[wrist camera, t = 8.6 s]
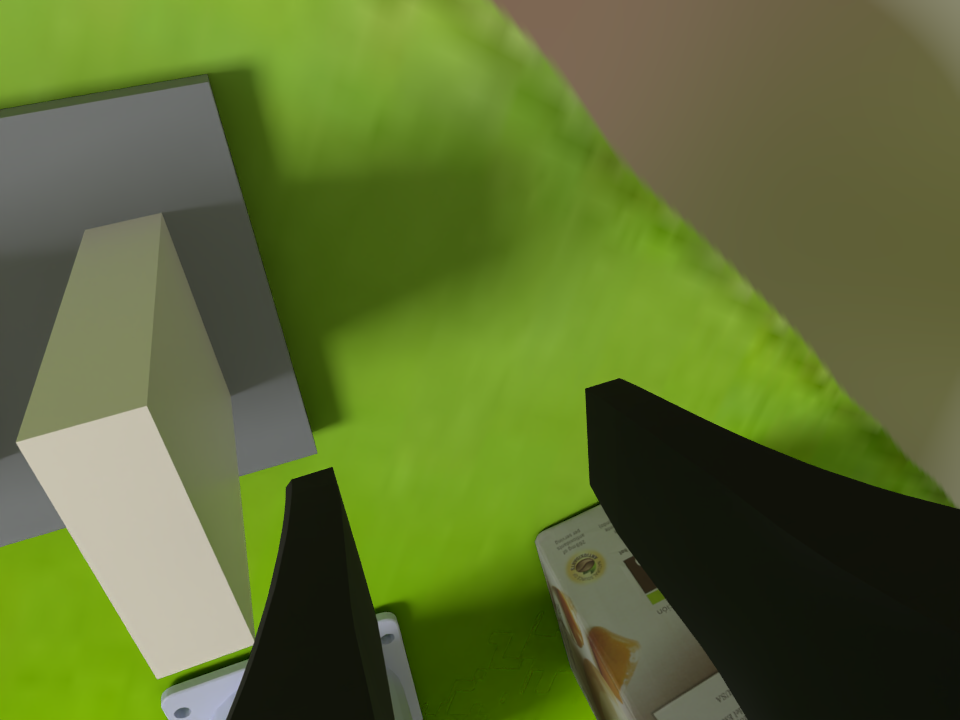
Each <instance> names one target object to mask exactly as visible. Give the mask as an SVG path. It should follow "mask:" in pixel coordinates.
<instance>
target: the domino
mask: <svg viewBox="0 0 960 720" xmlns="http://www.w3.org/2000/svg"><path fill="white" fill-rule="evenodd" d="M16 444H17V446H18V447H19V449H20V451H21V452H22V454H23V456H24V457H25V459H26V461H27V462H28V464H29V466H30V467H31V469H32V471H33V472H34V474H35V476H36V477H37V479H38V481H39V482H40V484H41V486H42V487H43V489H44V491H45V492H46V494H47V496H48V497H49V499H50V501H51V502H52V504H53V506H54V507H55V509H56V511H57V512H58V514H59V516H60V517H61V519H62V521H63V522H64V524H65V526H66V528H67V529H68V531H69V533H70V534H71V536H72V538H73V539H74V541H75V543H76V544H77V546H78V548H79V549H80V551H81V553H82V554H83V556H84V558H85V559H86V561H87V563H88V564H89V566H90V568H91V569H92V571H93V573H94V574H95V576H96V578H97V579H98V581H99V583H100V584H101V586H102V588H103V589H104V591H105V593H106V594H107V596H108V598H109V599H110V601H111V603H112V604H113V606H114V608H115V610H116V611H117V613H118V615H119V616H120V618H121V620H122V621H123V623H124V625H125V626H126V628H127V630H128V631H129V633H130V635H131V636H132V638H133V640H134V641H135V643H136V645H137V646H138V648H139V650H140V651H141V653H142V655H143V656H144V658H145V660H146V661H147V663H148V665H149V666H150V668H151V670H152V671H153V673H154V675H155V676H156V678H157V679H160V678H162V677H165V676H168V675H171V674H174V673H176V672H179V671H182V670H185V669H188V668H190V667H193V666H196V665H199V664H202V663H204V662H207V661H210V660H213V659H216V658H218V657H221V656H224V655H227V654H229V653H232V652H235V651H238V650H241V649H243V648H246V647H249V646H252V645H253V644H254V641H255V633H254V623H253V613H252V603H251V593H250V583H249V573H248V563H247V553H246V543H245V533H244V523H243V513H242V503H241V493H240V483H239V473H238V464H237V454H236V444H235V434H234V424H233V414H232V404H231V396H230V393H229V390H228V388H227V385H226V382H225V380H224V377H223V374H222V372H221V369H220V366H219V364H218V361H217V358H216V356H215V353H214V350H213V348H212V345H211V342H210V340H209V337H208V335H207V332H206V329H205V327H204V324H203V321H202V319H201V316H200V313H199V311H198V308H197V305H196V303H195V300H194V297H193V295H192V292H191V289H190V287H189V284H188V281H187V279H186V276H185V273H184V271H183V268H182V265H181V263H180V260H179V257H178V255H177V252H176V249H175V247H174V244H173V241H172V239H171V236H170V234H169V231H168V228H167V226H166V223H165V220H164V218H163V215H162V213H158V214H154V215H149V216H145V217H140V218H136V219H132V220H127V221H123V222H118V223H114V224H109V225H105V226H100V227H96V228H92V229H87V230H85V231H84V234H83V238H82V241H81V244H80V247H79V250H78V253H77V256H76V259H75V262H74V265H73V268H72V271H71V274H70V277H69V280H68V284H67V287H66V290H65V293H64V296H63V299H62V302H61V305H60V308H59V311H58V314H57V317H56V320H55V323H54V326H53V329H52V333H51V336H50V339H49V342H48V345H47V348H46V351H45V354H44V357H43V360H42V363H41V366H40V369H39V372H38V375H37V379H36V382H35V385H34V388H33V391H32V394H31V397H30V400H29V403H28V406H27V409H26V412H25V415H24V418H23V421H22V424H21V428H20V431H19V434H18V437H17V440H16Z"/></svg>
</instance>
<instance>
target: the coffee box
mask: <svg viewBox="0 0 960 720" xmlns="http://www.w3.org/2000/svg"><path fill="white" fill-rule="evenodd" d="M535 543H536V547H537V551H538V554H539V558H540V561H541V565H542V568H543V572H544V576H545V579H546V582H547V586H548V589H549V593H550V596H551V599H552V603H553V606H554V610H555V613H556V617H557V620H558V624H559V628H560V631H561V635H562V638H563V642H564V646H565V649H566V652H567V656H568V659H569V663H570V666H571V669H572V671H573V674H574V676H575V678H576V680H577V682H578V684H579V686H580V687H581V689H582V691H583V693H584V695H585V697H586V699H587V701H588V703H589V705H590V707H591V709H592V711H593V713H594V715H595V717H596V719H597V720H747V718H746V716H745V715H744V713H743V711H742V710H741V708H740V706H739V705H738V703H737V701H736V700H735V698H734V697H733V695H732V693H731V692H730V690H729V688H728V687H727V685H726V683H725V682H724V680H723V678H722V677H721V675H720V674H719V672H718V670H717V669H716V667H715V666H714V664H713V663H712V661H711V660H710V659H709V657H708V656H707V654H706V653H705V651H704V650H703V648H702V647H701V646H700V644H699V643H698V641H697V640H696V639H695V637H694V636H693V635H692V633H691V632H690V631H689V629H688V628H687V627H686V625H685V624H684V623H683V621H682V620H681V619H680V617H679V616H678V615H677V614H676V612H675V611H674V610H673V608H672V607H671V606H670V604H669V603H668V602H667V600H666V599H665V598H664V596H663V595H662V594H661V592H660V591H659V590H658V588H657V587H656V586H655V584H654V583H653V582H652V580H651V579H650V578H649V576H648V575H647V574H646V572H645V571H644V570H643V568H642V567H641V566H640V564H639V563H638V562H637V560H636V559H635V557H634V556H633V555H632V553H631V552H630V551H629V549H628V548H627V547H626V545H625V544H624V543H623V541H622V540H621V538H620V537H619V536H618V534H617V532H616V530H615V529H614V527H613V525H612V524H611V522H610V520H609V518H608V517H607V515H606V513H605V511H604V510H603V508H602V506H601V504H600V505H598V506H596V507H594V508H591V509H589V510H587V511H585V512H583V513H581V514H579V515H577V516H575V517H572V518H570V519H568V520H566V521H564V522H561V523H559V524H557V525H555V526H553V527H550V528H548V529H546V530H544V531H542V532H541V533H540V534H539V535H538V536H537V538H536V540H535Z"/></svg>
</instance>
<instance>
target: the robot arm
mask: <svg viewBox="0 0 960 720" xmlns="http://www.w3.org/2000/svg"><path fill="white" fill-rule="evenodd" d="M585 394H586V415H587V436H588V458H589V479H590V486H591V488H592V489H593V491H594V493H595V495H596V497H597V499H598V500H599V502H600V504H601V506H602V508H603V510H604V511H605V513H606V515H607V517H608V518H609V520H610V522H611V524H612V525H613V527H614V529H615V530H616V532H617V534H618V536H619V537H620V538H621V540H622V541H623V543H624V544H625V545H626V547H627V548H628V549H629V551H630V552H631V553H632V555H633V556H634V557H635V559H636V560H637V562H638V563H639V564H640V566H641V567H642V568H643V570H644V571H645V572H646V574H647V575H648V576H649V578H650V579H651V580H652V582H653V583H654V584H655V586H656V587H657V588H658V590H659V591H660V592H661V594H662V595H663V596H664V598H665V599H666V600H667V602H668V603H669V604H670V606H671V607H672V608H673V610H674V611H675V612H676V614H677V615H678V616H679V617H680V619H681V620H682V621H683V623H684V624H685V625H686V627H687V628H688V629H689V631H690V632H691V633H692V635H693V636H694V637H695V639H696V640H697V641H698V643H699V644H700V646H701V647H702V648H703V650H704V651H705V653H706V654H707V656H708V657H709V659H710V660H711V661H712V663H713V664H714V666H715V667H716V669H717V670H718V672H719V674H720V675H721V677H722V678H723V680H724V682H725V683H726V685H727V687H728V688H729V690H730V692H731V693H732V695H733V697H734V698H735V700H736V701H737V703H738V705H739V706H740V708H741V710H742V711H743V713H744V715H745V716H746V718H747V720H960V509H956V508H952V507H949V506H945V505H941V504H937V503H933V502H929V501H925V500H921V499H918V498H914V497H910V496H906V495H902V494H899V493H895V492H892V491H889V490H885V489H882V488H878V487H875V486H872V485H869V484H866V483H863V482H860V481H857V480H854V479H851V478H848V477H845V476H842V475H839V474H836V473H832V472H829V471H827V470H824V469H821V468H818V467H816V466H813V465H810V464H807V463H805V462H802V461H800V460H797V459H795V458H792V457H790V456H787V455H785V454H782V453H780V452H777V451H775V450H773V449H770V448H768V447H765V446H763V445H760V444H758V443H756V442H754V441H751V440H749V439H747V438H744V437H742V436H740V435H738V434H735V433H733V432H731V431H729V430H727V429H724V428H722V427H720V426H718V425H716V424H714V423H712V422H710V421H707V420H705V419H703V418H701V417H699V416H697V415H695V414H693V413H691V412H689V411H687V410H685V409H683V408H681V407H679V406H677V405H675V404H673V403H671V402H668V401H666V400H664V399H662V398H660V397H658V396H656V395H654V394H652V393H650V392H648V391H646V390H644V389H642V388H640V387H638V386H636V385H634V384H632V383H629V382H627V381H625V380H623V379H620V378H618V379H615V380H612V381H609V382H605V383H602V384H599V385H596V386H593V387H589V388H586V389H585ZM386 634H387V635H386ZM161 706H162V709H163V711H164V713H165V715H166V716H167V718H168V720H423V718H422V714H421V710H420V706H419V702H418V698H417V694H416V690H415V687H414V683H413V679H412V675H411V671H410V667H409V663H408V659H407V656H406V652H405V648H404V644H403V640H402V636H401V632H400V628H399V625H398V621H397V618H396V616H395V615H394V614H393V613H391V612H382V613H378V614H375V611H374V607H373V604H372V600H371V597H370V593H369V590H368V586H367V583H366V579H365V575H364V572H363V568H362V565H361V561H360V558H359V555H358V551H357V548H356V545H355V541H354V538H353V534H352V531H351V528H350V524H349V521H348V518H347V514H346V511H345V508H344V504H343V501H342V498H341V494H340V491H339V487H338V484H337V481H336V477H335V474H334V471H333V467H331V468H327V469H324V470H321V471H318V472H314V473H311V474H308V475H305V476H301V477H298V478H295V479H292V480H291V481H290V483H289V484H288V485H287V487H286V502H285V513H284V521H283V528H282V534H281V539H280V545H279V550H278V555H277V559H276V564H275V568H274V572H273V577H272V581H271V585H270V589H269V594H268V597H267V601H266V605H265V608H264V611H263V615H262V618H261V621H260V625H259V628H258V631H257V634H256V638H255V641H254V644H253V647H252V651H251V654H250V657H249V659H247V660H245V661H242V662H239V663H236V664H233V665H230V666H228V667H225V668H222V669H219V670H216V671H213V672H210V673H208V674H205V675H202V676H199V677H196V678H193V679H191V680H188V681H185V682H182V683H179V684H176V685H173V686H171V687H169V688H168V689H166V690H165V691H164V692H163V694H162V696H161Z"/></svg>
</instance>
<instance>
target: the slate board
mask: <svg viewBox="0 0 960 720" xmlns="http://www.w3.org/2000/svg"><path fill="white" fill-rule="evenodd" d="M158 213H162V215H163V218H164V220H165V223H166V226H167V228H168V231H169V234H170V236H171V239H172V241H173V244H174V247H175V249H176V252H177V255H178V257H179V260H180V263H181V265H182V268H183V271H184V273H185V276H186V279H187V281H188V284H189V287H190V289H191V292H192V295H193V297H194V300H195V303H196V305H197V308H198V311H199V313H200V316H201V319H202V321H203V324H204V327H205V329H206V332H207V335H208V337H209V340H210V342H211V345H212V348H213V350H214V353H215V356H216V358H217V361H218V364H219V366H220V369H221V372H222V374H223V377H224V380H225V382H226V385H227V388H228V390H229V393H230V396H231V404H232V414H233V424H234V434H235V444H236V454H237V464H238V473H239V476H242V475H246V474H249V473H252V472H256V471H259V470H263V469H266V468H269V467H273V466H276V465H280V464H283V463H286V462H290V461H293V460H296V459H300V458H303V457H307V456H310V455H313V454H317V450H316V446H315V442H314V438H313V434H312V431H311V427H310V424H309V420H308V417H307V414H306V410H305V407H304V403H303V400H302V396H301V393H300V390H299V386H298V383H297V379H296V376H295V372H294V369H293V366H292V362H291V359H290V355H289V352H288V349H287V345H286V342H285V338H284V335H283V331H282V328H281V325H280V321H279V318H278V314H277V311H276V308H275V304H274V301H273V297H272V294H271V290H270V287H269V284H268V280H267V277H266V273H265V270H264V266H263V263H262V260H261V256H260V253H259V249H258V246H257V243H256V239H255V236H254V232H253V229H252V225H251V222H250V219H249V215H248V212H247V208H246V205H245V202H244V198H243V195H242V191H241V188H240V184H239V181H238V178H237V174H236V171H235V167H234V164H233V160H232V157H231V154H230V150H229V147H228V143H227V140H226V137H225V133H224V130H223V126H222V123H221V119H220V116H219V113H218V109H217V106H216V102H215V99H214V95H213V92H212V89H211V85H210V82H209V78H208V75H207V74H205V75H199V76H193V77H187V78H182V79H176V80H170V81H164V82H158V83H152V84H147V85H141V86H135V87H129V88H123V89H117V90H112V91H106V92H100V93H94V94H88V95H83V96H77V97H71V98H65V99H59V100H53V101H48V102H42V103H36V104H30V105H24V106H19V107H13V108H7V109H1V110H0V547H2V546H5V545H8V544H12V543H15V542H19V541H22V540H25V539H29V538H32V537H35V536H39V535H42V534H46V533H49V532H52V531H56V530H59V529H63V528H66V526H65V524H64V522H63V521H62V519H61V517H60V516H59V514H58V512H57V511H56V509H55V507H54V506H53V504H52V502H51V501H50V499H49V497H48V496H47V494H46V492H45V491H44V489H43V487H42V486H41V484H40V482H39V481H38V479H37V477H36V476H35V474H34V472H33V471H32V469H31V467H30V466H29V464H28V462H27V461H26V459H25V457H24V456H23V454H22V452H21V451H20V449H19V447H18V446H17V444H16V440H17V437H18V434H19V431H20V428H21V424H22V421H23V418H24V415H25V412H26V409H27V406H28V403H29V400H30V397H31V394H32V391H33V388H34V385H35V382H36V379H37V375H38V372H39V369H40V366H41V363H42V360H43V357H44V354H45V351H46V348H47V345H48V342H49V339H50V336H51V333H52V329H53V326H54V323H55V320H56V317H57V314H58V311H59V308H60V305H61V302H62V299H63V296H64V293H65V290H66V287H67V284H68V280H69V277H70V274H71V271H72V268H73V265H74V262H75V259H76V256H77V253H78V250H79V247H80V244H81V241H82V238H83V234H84V231H85V230H87V229H92V228H96V227H100V226H105V225H109V224H114V223H118V222H123V221H127V220H132V219H136V218H140V217H145V216H149V215H154V214H158Z"/></svg>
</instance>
